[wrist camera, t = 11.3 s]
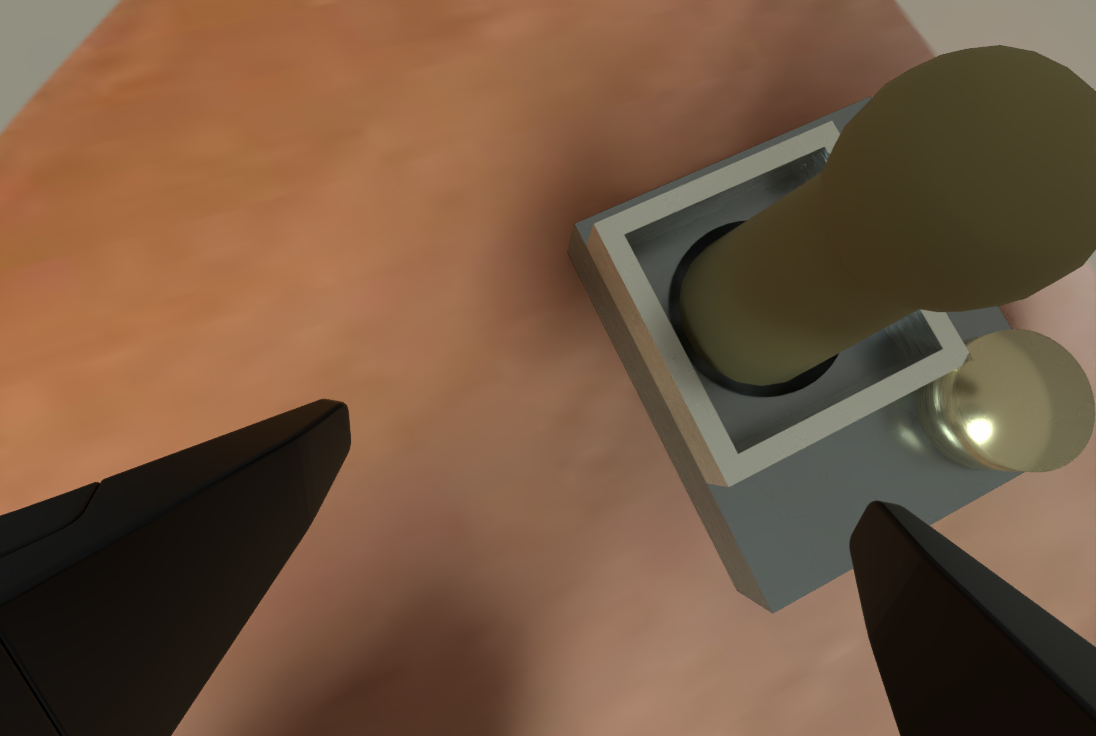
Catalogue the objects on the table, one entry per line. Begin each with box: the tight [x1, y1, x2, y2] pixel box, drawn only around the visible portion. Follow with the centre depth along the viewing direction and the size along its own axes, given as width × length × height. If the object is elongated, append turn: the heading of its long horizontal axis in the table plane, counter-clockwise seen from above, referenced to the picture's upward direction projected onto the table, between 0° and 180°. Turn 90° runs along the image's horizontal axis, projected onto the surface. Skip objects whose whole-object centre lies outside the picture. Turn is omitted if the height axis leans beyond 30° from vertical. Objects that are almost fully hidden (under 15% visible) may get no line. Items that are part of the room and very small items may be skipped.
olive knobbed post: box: [679, 45, 1096, 386], centre depth 14 cm, size 6×6×11 cm
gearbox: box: [567, 96, 1095, 613], centre depth 21 cm, size 16×14×5 cm
